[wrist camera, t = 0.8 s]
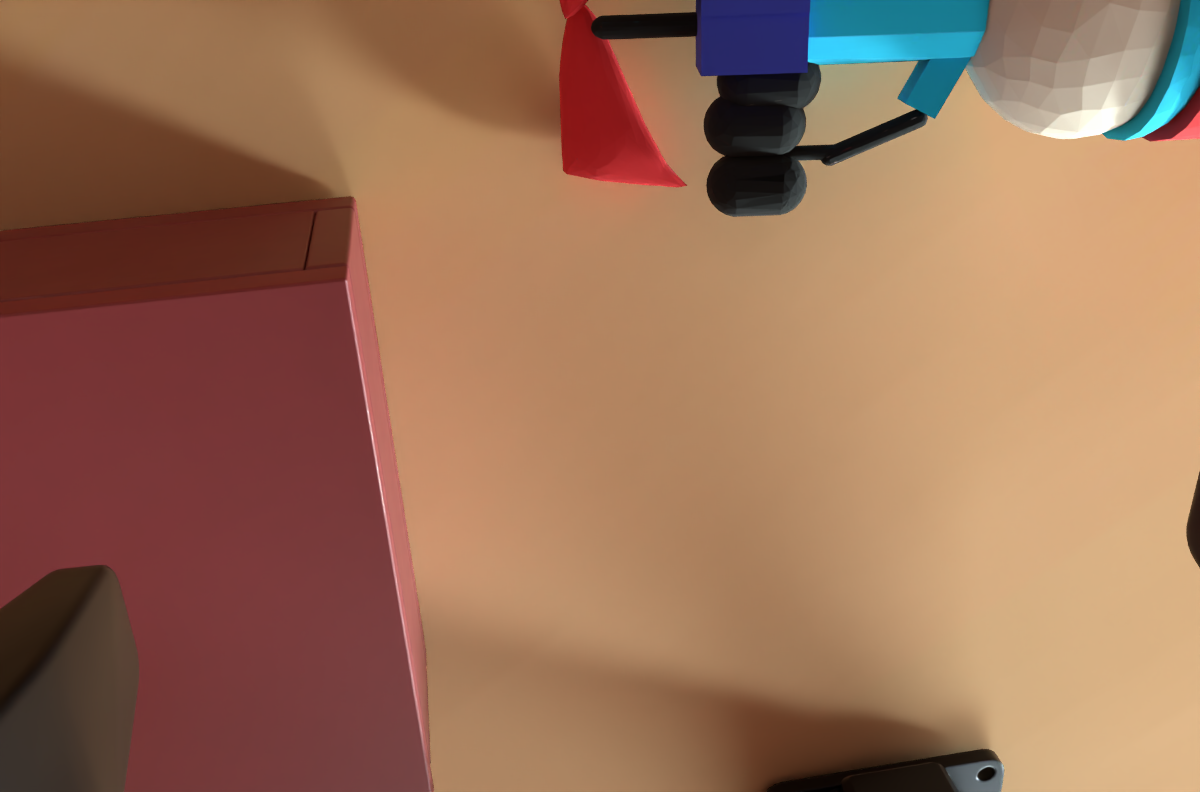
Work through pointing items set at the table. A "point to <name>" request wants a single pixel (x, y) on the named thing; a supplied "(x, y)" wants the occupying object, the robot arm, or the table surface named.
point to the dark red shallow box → (218, 252)
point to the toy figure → (869, 35)
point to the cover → (220, 524)
